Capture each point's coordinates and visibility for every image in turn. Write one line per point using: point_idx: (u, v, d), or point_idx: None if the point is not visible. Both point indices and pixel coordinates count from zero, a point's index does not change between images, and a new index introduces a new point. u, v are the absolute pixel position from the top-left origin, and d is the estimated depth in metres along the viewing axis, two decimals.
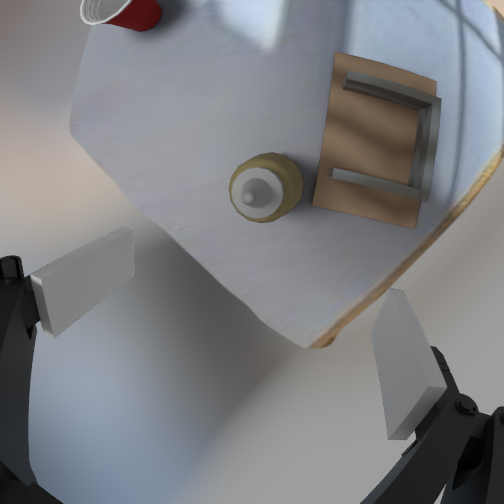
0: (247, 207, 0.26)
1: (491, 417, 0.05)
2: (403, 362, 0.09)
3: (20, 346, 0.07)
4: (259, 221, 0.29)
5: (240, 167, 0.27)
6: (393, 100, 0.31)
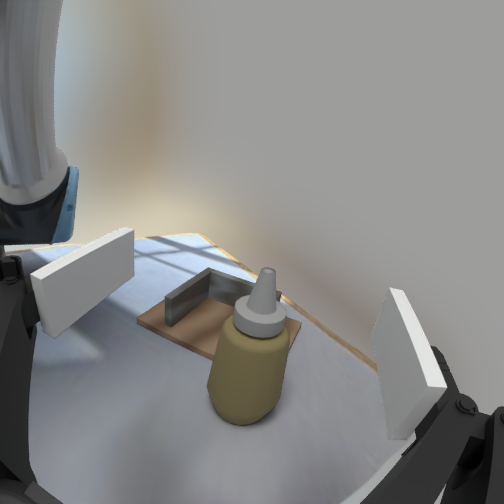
0: (274, 315, 0.24)
1: (491, 417, 0.05)
2: (403, 362, 0.09)
3: (20, 346, 0.07)
4: (288, 339, 0.26)
5: (226, 335, 0.25)
6: (195, 303, 0.47)
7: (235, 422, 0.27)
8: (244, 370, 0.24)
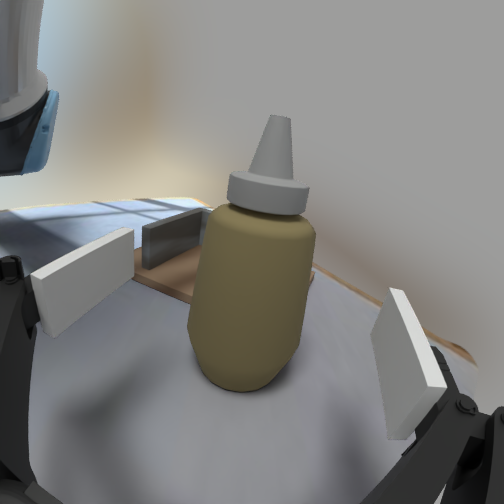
0: (290, 181, 0.16)
1: (491, 417, 0.05)
2: (403, 362, 0.09)
3: (20, 346, 0.07)
4: (313, 230, 0.17)
5: (216, 218, 0.16)
6: (183, 247, 0.38)
7: (230, 386, 0.19)
8: (245, 274, 0.15)
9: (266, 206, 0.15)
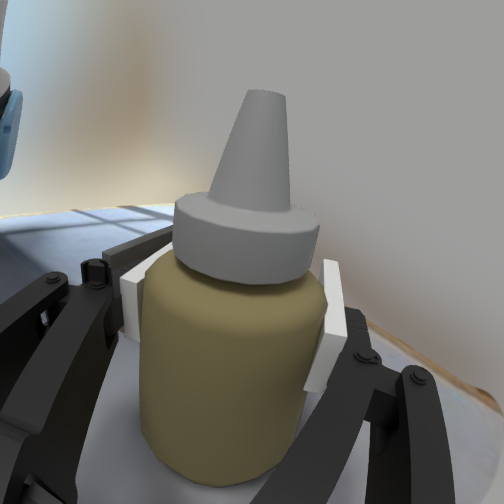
0: (285, 217, 0.08)
1: (399, 378, 0.07)
2: None
3: (95, 358, 0.07)
4: (323, 299, 0.10)
5: (151, 282, 0.09)
6: None
7: (200, 483, 0.11)
8: (200, 387, 0.08)
9: (235, 271, 0.08)
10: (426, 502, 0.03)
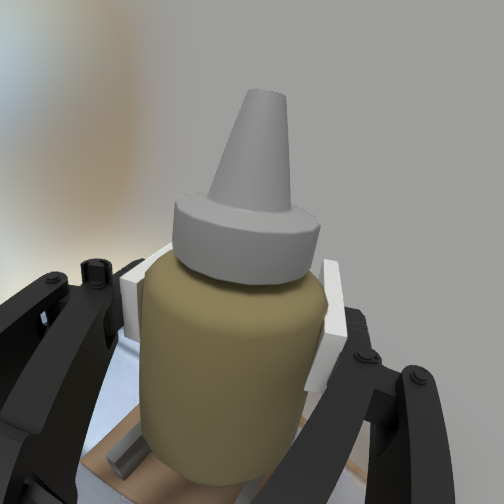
0: (285, 217, 0.08)
1: (400, 378, 0.07)
2: None
3: (95, 358, 0.07)
4: (324, 299, 0.09)
5: (151, 283, 0.09)
6: None
7: (201, 484, 0.11)
8: (200, 388, 0.08)
9: (235, 271, 0.08)
10: (426, 502, 0.03)
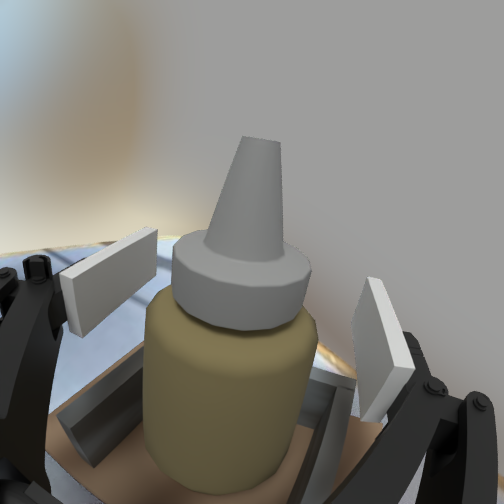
0: (278, 265, 0.09)
1: (463, 403, 0.06)
2: (375, 345, 0.09)
3: (44, 348, 0.07)
4: (314, 335, 0.10)
5: (152, 322, 0.09)
6: None
7: (200, 492, 0.12)
8: (199, 416, 0.08)
9: (229, 319, 0.08)
10: None
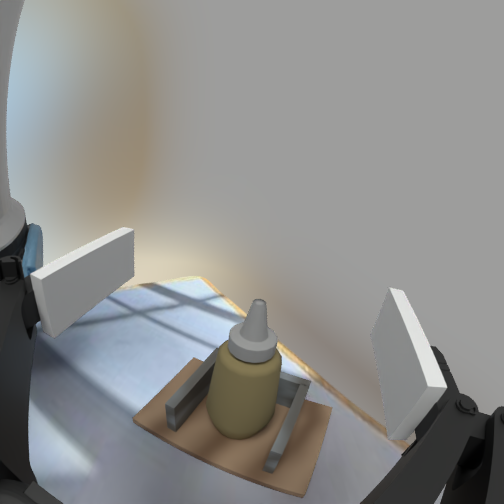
0: (265, 342, 0.26)
1: (491, 417, 0.05)
2: (403, 362, 0.09)
3: (20, 346, 0.07)
4: (279, 362, 0.27)
5: (222, 360, 0.26)
6: (203, 394, 0.34)
7: (232, 437, 0.29)
8: (239, 392, 0.25)
9: (250, 360, 0.25)
10: None
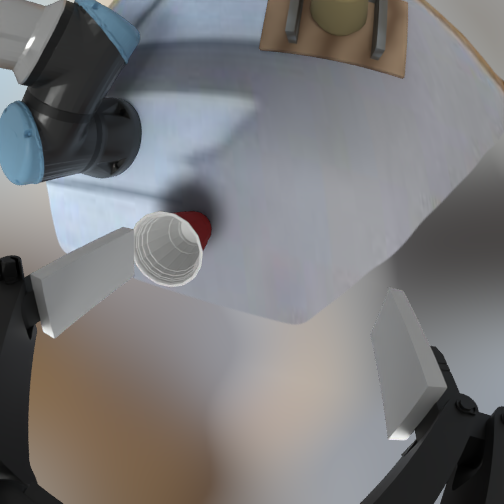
0: None
1: (491, 417, 0.05)
2: (403, 362, 0.09)
3: (20, 346, 0.07)
4: None
5: None
6: (302, 6, 0.31)
7: (340, 35, 0.32)
8: (344, 12, 0.24)
9: None
10: None
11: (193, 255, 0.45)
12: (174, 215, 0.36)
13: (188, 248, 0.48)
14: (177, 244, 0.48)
